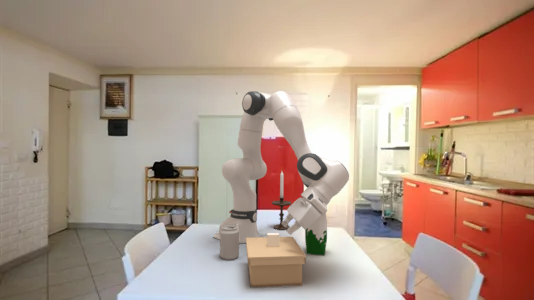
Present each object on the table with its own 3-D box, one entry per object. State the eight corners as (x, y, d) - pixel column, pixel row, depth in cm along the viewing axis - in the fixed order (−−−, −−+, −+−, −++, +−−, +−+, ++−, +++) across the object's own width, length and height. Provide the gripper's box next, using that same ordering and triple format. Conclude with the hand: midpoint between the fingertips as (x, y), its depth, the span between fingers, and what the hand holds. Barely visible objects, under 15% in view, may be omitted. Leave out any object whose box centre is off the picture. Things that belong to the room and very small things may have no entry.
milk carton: (305, 247, 119) (306, 202, 119) (326, 249, 117) (326, 203, 117) (304, 254, 110) (304, 205, 111) (327, 256, 108) (327, 206, 109)
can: (241, 255, 109) (242, 225, 109) (233, 261, 102) (234, 230, 102) (225, 252, 112) (225, 223, 112) (216, 259, 104) (216, 228, 105)
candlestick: (285, 231, 144) (286, 166, 144) (268, 228, 149) (268, 165, 150) (294, 227, 153) (294, 165, 154) (277, 224, 159) (278, 165, 159)
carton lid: (248, 265, 81) (248, 244, 81) (245, 244, 101) (246, 226, 101) (305, 263, 83) (305, 242, 83) (292, 243, 103) (292, 226, 103)
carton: (250, 287, 82) (251, 259, 82) (248, 264, 100) (248, 240, 100) (302, 285, 84) (302, 257, 84) (290, 262, 102) (290, 239, 102)
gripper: (299, 190, 104) (274, 215, 103) (315, 198, 84) (284, 230, 83) (311, 201, 105) (286, 227, 103) (329, 212, 84) (298, 244, 83)
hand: (285, 229), depth 93 cm, fingers open, 8 cm apart
